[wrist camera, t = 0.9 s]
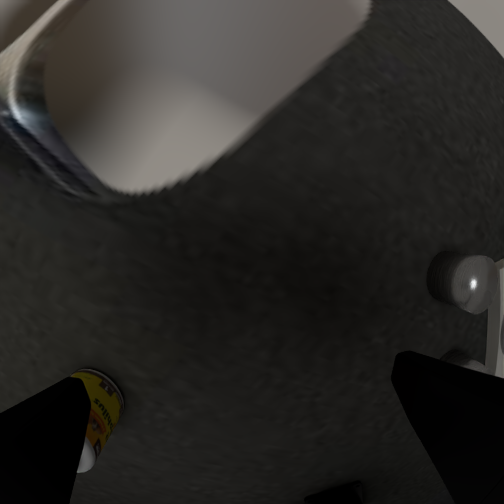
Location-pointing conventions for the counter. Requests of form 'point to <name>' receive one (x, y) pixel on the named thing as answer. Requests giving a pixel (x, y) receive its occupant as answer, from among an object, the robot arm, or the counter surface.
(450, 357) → the spacer
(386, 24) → the counter surface
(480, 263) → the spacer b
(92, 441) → the supplement bottle
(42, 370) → the counter surface
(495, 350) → the scale
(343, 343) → the counter surface
